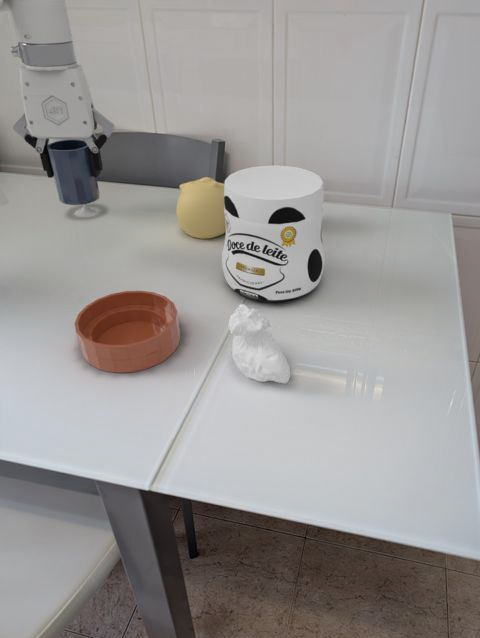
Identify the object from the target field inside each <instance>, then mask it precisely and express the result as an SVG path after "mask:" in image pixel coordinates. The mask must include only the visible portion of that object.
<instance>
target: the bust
mask: <svg viewBox="0 0 480 638" xmlns="http://www.w3.org/2000/svg"><path fill="white" fill-rule="evenodd" d="M270 326H271V323H270V321H269V320H266V319H265V317H262V314H261V313H260V310H259V309H256V308H250V307H248V306H247V305H246V304H245V303H241V304H239V305H238V307H237V308H235V310H234V312H233V313H232V314H230V316H229V320H228V330H229V334H230V335H231V336H232V342H231V344H232V345H231V347H232V350H231V356H232V360H233V363H234V365H235V366H236V368H237V369H238V370H239V372H240V373H241V374H243V375H244V377H246V378H248V379H250V380H254V381H256V382H259V383H264V382H268V381H271V382H275V383H279V384H283V385H285V384H287V383H288V382H289V381H290V378H291V368H290V366H289V362H288V360H287V359H286V358H287V357H286V356H285V355H284V353H283V352H282V349H281V347H280V344H279V343H278V342H277V341H276V339H275V337H274V335H273V334H272V333H270V331H267V328H269V327H270Z"/></svg>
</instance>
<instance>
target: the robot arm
mask: <svg viewBox="0 0 480 638" xmlns="http://www.w3.org/2000/svg"><path fill="white" fill-rule="evenodd" d="M8 11H10V12H11V16H12V21H13V24H14V28H15V32H16V36H17V40H18V42H17V45H15V46H11V47H10V50H11V55H12V57H13V58H18V59H20V60H21V62H22V63H23V65H22V66H19V68H18V70H19V71H18V72H19V85H20V93H21V99H22V105H23V111H24V113H23V114H22V115H21V116H20V117H19V118H18V120H17V121H16V122H15V123H14V124H13V126H12V129H13V131H14V132H15V133H16V134H18V135H19V136H20V138H23V140H24V141H25V142H26V143H27V144H28V145H29V146H31V147H32V148H33V149H35V152H36V153H37V154H39V158H40V162H41V166H42V169H43V171H44V172H46V175H47V178H49V179H50V178H54V175H53V171H52V167H51V163H50V159H49V154H48V150H47V145H48V144H50V139H79V138H83V140H84V141H85V142H86V144H87V145H88V147H89V148H90V153H89V160H90V165H91V170H92V175H93V177H96V178H98V177H99V175H100V174H101V172H102V171H103V169H104V165H103V161H102V155H101V149H102V148H103V146H104V145H105V143H106V142H107V141H108V139H109V138H110V136H111V135H112V134H113V132H114V131H115V129H116V125H115V124H114V123H113V122H112V121H110V120H109V119H108V118H107V117H105V116H104V115H103V114H102V113H101V112H99V111H98V110H97V109H96V108H95V105H94V100H93V96H92V94H91V89H90V86H89V83H88V80H87V76H86V74H85V72H84V69H83V67H82V64H78V62H77V57H76V52H75V47H74V46H75V45H74V41H73V35H72V29H71V25H70V19H69V14H68V9H67V4H66V0H0V13H1V12H8ZM98 125H99V126H100V127H101V128H102V132H101V134H100V135H99V136H98V137H97V136H96V134H95V131H96V130H97V129H98Z"/></svg>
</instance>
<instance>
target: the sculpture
mask: <svg viewBox="0 0 480 638" xmlns="http://www.w3.org/2000/svg"><path fill="white" fill-rule="evenodd" d="M178 187H179V190H180V194H179V196H178V198H177V201H176V209H175V210H176V211H175V212H176V218H177V221H178V224H179V226H180V228H181V229H182V231H183V232H184V233H185V234H187V235H188V236H190V237H193V238H195V239H202V240H203V239H204V240H205V239H206V240H207V239H213V238H217V237H220V236H222V235H224V234H226V226H225V215H224V207H225V203H224V182H223V183H222V182H218V181H216V180H215V179H214V178H212V177H208V176H204V177H201V178H200V179H196V180H191V181H188V182H183V183H181V184H179V186H178Z"/></svg>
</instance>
